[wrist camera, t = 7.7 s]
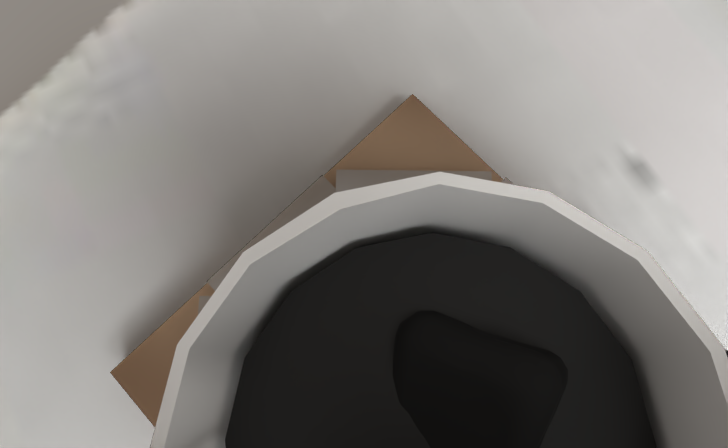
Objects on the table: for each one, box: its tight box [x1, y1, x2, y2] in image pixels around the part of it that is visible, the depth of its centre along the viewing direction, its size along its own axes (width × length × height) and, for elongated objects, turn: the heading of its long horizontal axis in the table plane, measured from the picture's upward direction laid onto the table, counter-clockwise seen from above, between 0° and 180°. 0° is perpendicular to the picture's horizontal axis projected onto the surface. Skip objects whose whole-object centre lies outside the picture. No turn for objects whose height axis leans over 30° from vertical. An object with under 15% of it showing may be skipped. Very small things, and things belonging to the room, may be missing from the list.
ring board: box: [110, 94, 514, 427], centre depth 17 cm, size 13×13×2 cm
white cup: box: [150, 172, 728, 448], centre depth 11 cm, size 7×7×10 cm
